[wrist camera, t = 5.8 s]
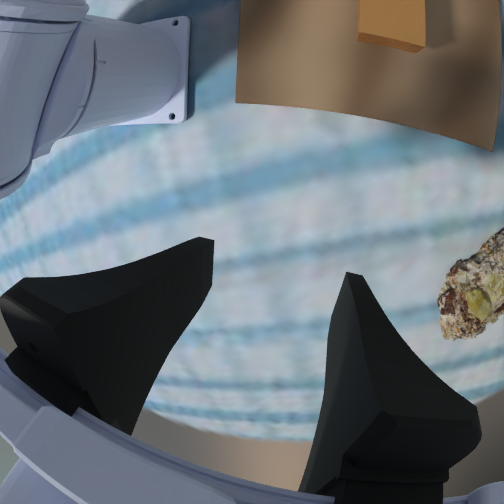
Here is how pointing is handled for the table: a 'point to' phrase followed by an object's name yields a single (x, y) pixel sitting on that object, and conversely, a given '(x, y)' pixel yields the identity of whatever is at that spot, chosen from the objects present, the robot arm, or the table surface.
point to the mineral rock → (474, 292)
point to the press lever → (392, 23)
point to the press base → (376, 65)
